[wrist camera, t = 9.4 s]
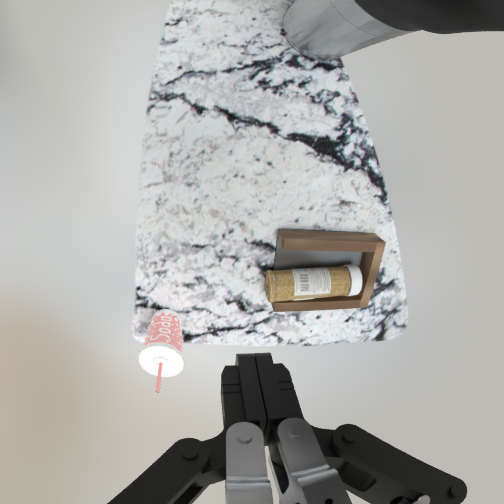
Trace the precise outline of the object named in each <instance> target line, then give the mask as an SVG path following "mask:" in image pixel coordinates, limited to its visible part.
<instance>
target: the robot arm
mask: <svg viewBox="0 0 504 504" xmlns="http://www.w3.org/2000/svg"><path fill="white" fill-rule="evenodd" d="M283 30H284V33H285V36H286V38H287V40H288V41H289V43H290V44H291V45H292V46H293V47H294V48H295V49H296V50H297V51H298V52H300V53H301V54H302V55H305V56H307V57H309V58H312V59H315V60H322V61H326V60H332V59H336V58H339V57H341V56H343V55H346V54H348V53H351V52H354V51H357V50H360V49H362V48H365V47H368V46H371V45H373V44H376V43H379V42H382V41H385V40H388V39H391V38H395V37H397V36H401V35H404V34H408V33H411V32H415V31H419V30H425V31H428V32H432V33H438V34H452V33H462V32H476V31H477V32H478V31H504V0H295V1H294V3H293V4H292V5H291V6H290V8H289V9H288V10H287V12H286V13H285V16H284V18H283ZM221 402H222V413H223V424H224V429H223V431H222V432H221V433H220V434H219V435H218V436H216V437H214V438H212V439H209V440H205V441H202V442H201V441H199V440H197V439H194V438H184V439H181V440H178V441H177V442H176V443H174V444H173V445H172V446H171V447H170V448H169V449H168V450H167V451H166V452H165V453H164V454H163V455H162V456H161V457H160V458H159V459H158V460H157V461H155V462H154V463H153V464H152V465H151V466H150V467H149V468H148V469H147V470H146V471H144V472H143V473H142V474H141V475H140V476H139V477H138V478H137V479H136V480H134V481H133V482H132V483H131V484H130V485H129V486H128V487H127V488H125V489H124V490H123V491H122V492H121V493H119V494H118V495H117V496H116V497H115V498H114V499H112V500H111V501H110V502H109V503H107V504H192V503H193V502H194V501H195V500H196V499H197V498H198V497H199V496H200V495H201V493H202V492H203V491H204V490H205V489H206V488H207V487H208V486H209V485H210V484H214V483H216V482H220V481H223V480H225V489H226V490H225V491H226V504H273V497H272V488H271V483H270V481H269V480H268V476H267V467H266V458H265V447H264V446H268V447H269V452H270V454H269V464H270V467H271V471H272V474H273V477H274V481H275V484H276V487H277V490H278V494H279V504H352V502H351V500H350V498H349V496H348V494H347V492H346V490H348V491H349V492H351V493H353V494H354V495H356V496H358V497H360V498H362V499H363V500H365V501H367V502H369V503H371V504H460V503H461V502H463V500H464V499H465V497H466V494H467V487H466V485H465V483H464V482H463V481H462V480H461V479H459V478H457V477H454V476H452V475H450V474H448V473H445V472H443V471H441V470H439V469H437V468H435V467H433V466H430V465H428V464H426V463H424V462H422V461H420V460H418V459H416V458H414V457H412V456H410V455H409V454H407V453H405V452H403V451H401V450H399V449H397V448H395V447H393V446H391V445H390V444H388V443H386V442H384V441H382V440H380V439H379V438H377V437H375V436H373V435H372V434H370V433H368V432H366V431H365V430H363V429H361V428H360V427H358V426H356V425H353V424H344V425H341V426H339V427H338V428H337V429H336V430H329V429H321V428H317V427H314V426H312V425H310V424H309V423H308V422H307V421H306V420H305V419H304V417H303V414H302V412H301V408H300V405H299V402H298V398H297V395H296V392H295V390H294V385H293V383H292V379H291V376H290V373H289V371H288V369H287V368H286V367H285V366H284V365H283V364H282V363H279V364H273V360H272V356H271V353H254V354H236V364H235V366H225V368H224V370H223V372H222V374H221Z"/></svg>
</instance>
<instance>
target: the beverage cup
mask: <svg viewBox="0 0 504 504" xmlns="http://www.w3.org/2000/svg"><path fill="white" fill-rule="evenodd" d="M139 363H140V364H141V366H142V368H143V369H145V370H146V371H147V372H148V373H151V374H153V375H155V376H157V383H156V392H157V393H159V390H160V382H161V377H170V376H174V375H176V374H179V373H180V371H181V370H182V369H183V365H184V358H183V355H182V320H181V318H180V316H179V315H178V314H177V313H176V312H174V311H172V310H168V309H163V310H159V311H157V312H156V313H155V314H154V316H153V318H152V321H151V324H150V327H149V330H148V334H147V337H146V340H145V343H144V346H143V348H142V349H141V351H140V354H139Z"/></svg>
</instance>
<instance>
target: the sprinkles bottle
mask: <svg viewBox="0 0 504 504" xmlns="http://www.w3.org/2000/svg"><path fill="white" fill-rule="evenodd" d="M361 288H362V274H361V271H360V269H359V267H358V266H357V265H354V264H352V265H344V266H340V267H319V268H302V269H290V270H277V271H272V270H268V271H267V273H266V278H265V289H266V295H267V299H268V301H269V302H270V303H272V302H276V301H288V300H293V301H296V300H307V299H314V298H322V297H332V296H340V295H343V296H353V295H357V294H359V293H360V291H361Z"/></svg>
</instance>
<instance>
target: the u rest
mask: <svg viewBox="0 0 504 504" xmlns="http://www.w3.org/2000/svg"><path fill="white" fill-rule="evenodd" d="M385 244H386V242H385V241H383V240H382V239H381V238H380V237H378V236H377V235H376V234H375V233H361V232H342V231H321V230H298V229H278V237H277V245H276V253H275V260H274V268H273V271H277V270H290V269H302V268H319V267H340V266H344V265H352V264H354V265H357V266H358V267H359V269H360V271H361V274H362V288H361V291H360V293H359V294H357V295H353V296H343V295H340V296H332V297H322V298H314V299H307V300H296V301H293V300H288V301H276V302H272V303H271V304H272V307H273V310H274V312H285V311H313V310H333V309H351V308H365V307H367V305H368V302H369V299H370V296H371V293H372V290H373V287H374V283H375V280H376V277H377V273H378V270H379V266H380V263H381V259H382V256H383V252H384V248H385Z"/></svg>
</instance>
